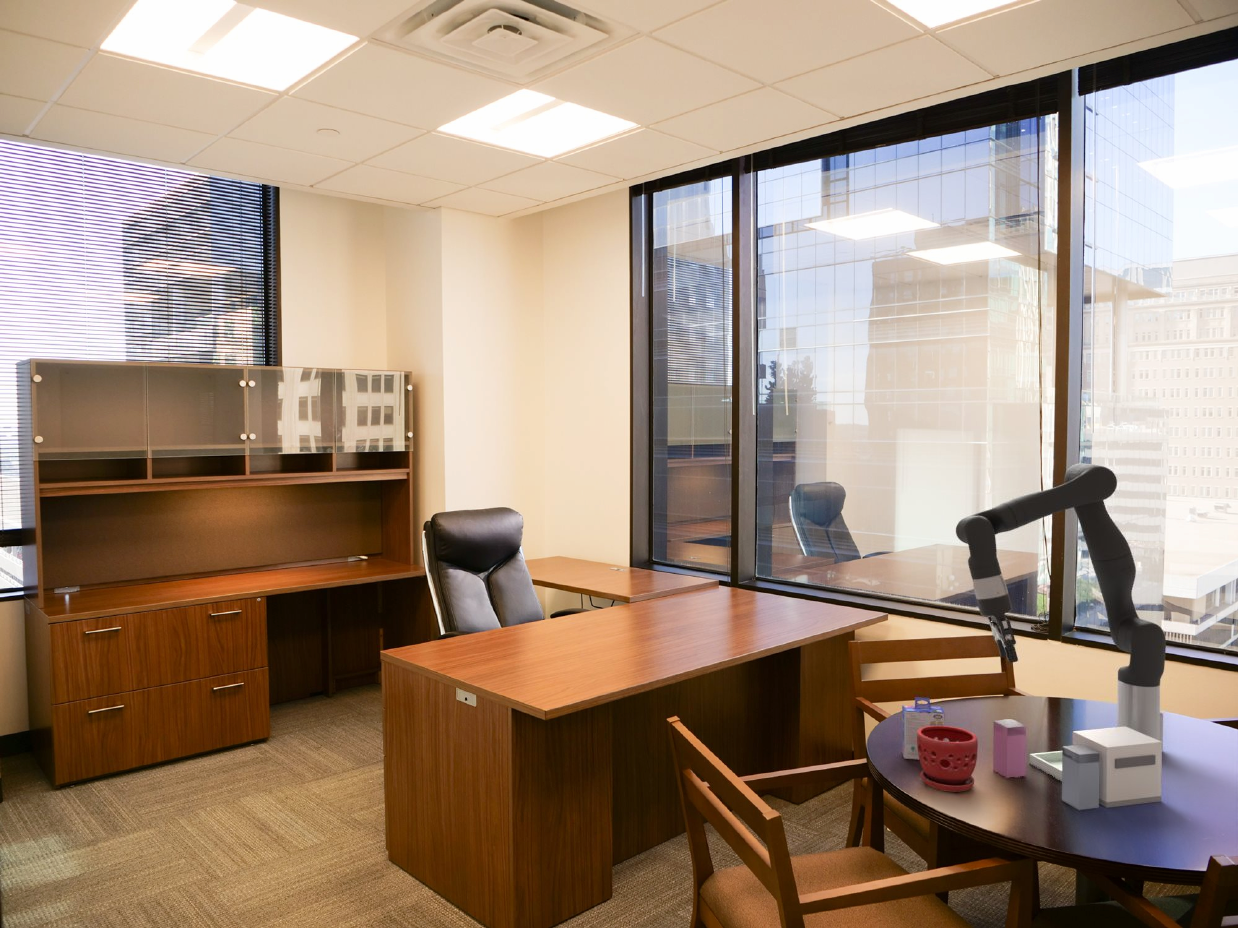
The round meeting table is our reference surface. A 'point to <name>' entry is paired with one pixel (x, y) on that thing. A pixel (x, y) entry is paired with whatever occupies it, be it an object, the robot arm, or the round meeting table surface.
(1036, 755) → the parts tray
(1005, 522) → the robot arm
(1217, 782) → the round meeting table surface
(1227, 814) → the round meeting table surface
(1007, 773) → the magenta cartridge
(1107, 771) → the printer unit
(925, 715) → the ink cartridge box
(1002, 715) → the round meeting table surface
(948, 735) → the plant pot
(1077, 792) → the slate blue cartridge
